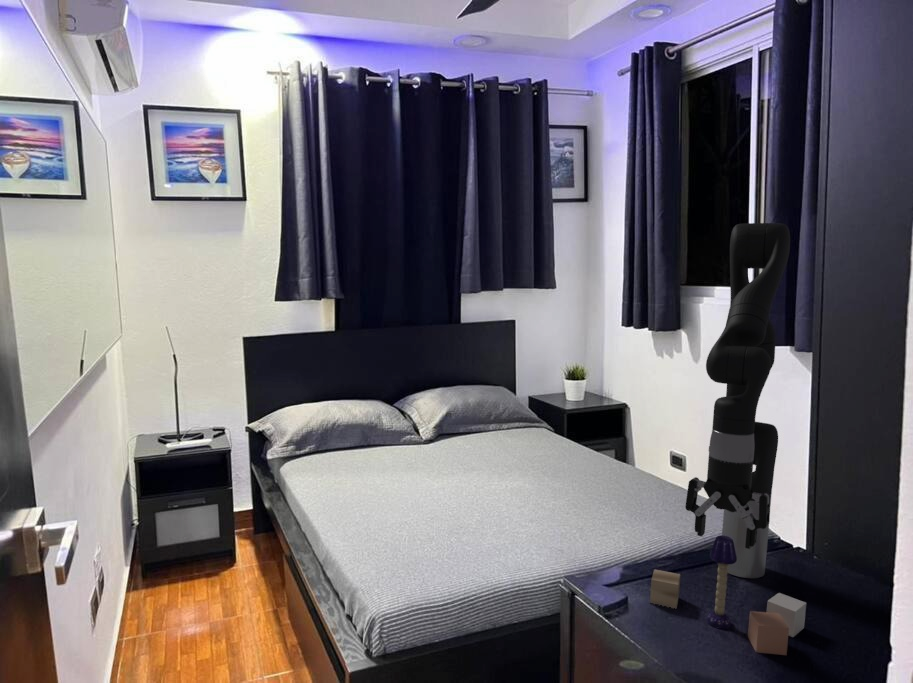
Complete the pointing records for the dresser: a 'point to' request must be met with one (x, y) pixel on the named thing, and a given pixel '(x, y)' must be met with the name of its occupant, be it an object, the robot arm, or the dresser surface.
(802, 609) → the off-white block
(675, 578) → the oak block
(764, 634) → the terracotta block
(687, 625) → the dresser surface
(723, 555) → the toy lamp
